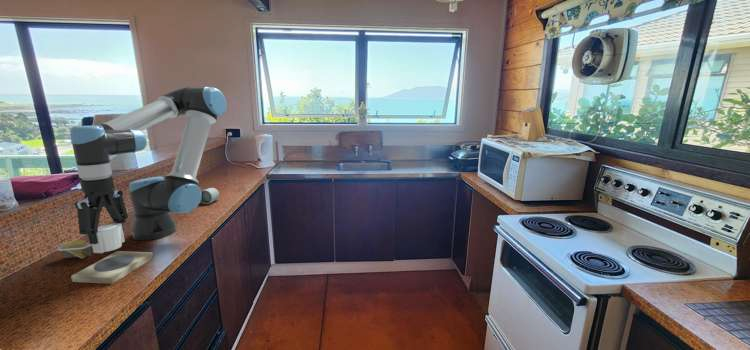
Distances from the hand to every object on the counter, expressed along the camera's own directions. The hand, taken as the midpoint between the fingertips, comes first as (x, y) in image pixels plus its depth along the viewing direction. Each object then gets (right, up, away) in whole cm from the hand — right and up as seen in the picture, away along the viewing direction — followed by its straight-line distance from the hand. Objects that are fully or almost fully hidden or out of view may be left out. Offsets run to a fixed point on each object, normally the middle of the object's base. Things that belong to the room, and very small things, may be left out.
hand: (109, 246), depth 99 cm
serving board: (0, -8, +2) cm, 8 cm away
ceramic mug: (-6, +8, +69) cm, 70 cm away
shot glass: (0, 0, 0) cm, 1 cm away
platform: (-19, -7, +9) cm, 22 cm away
